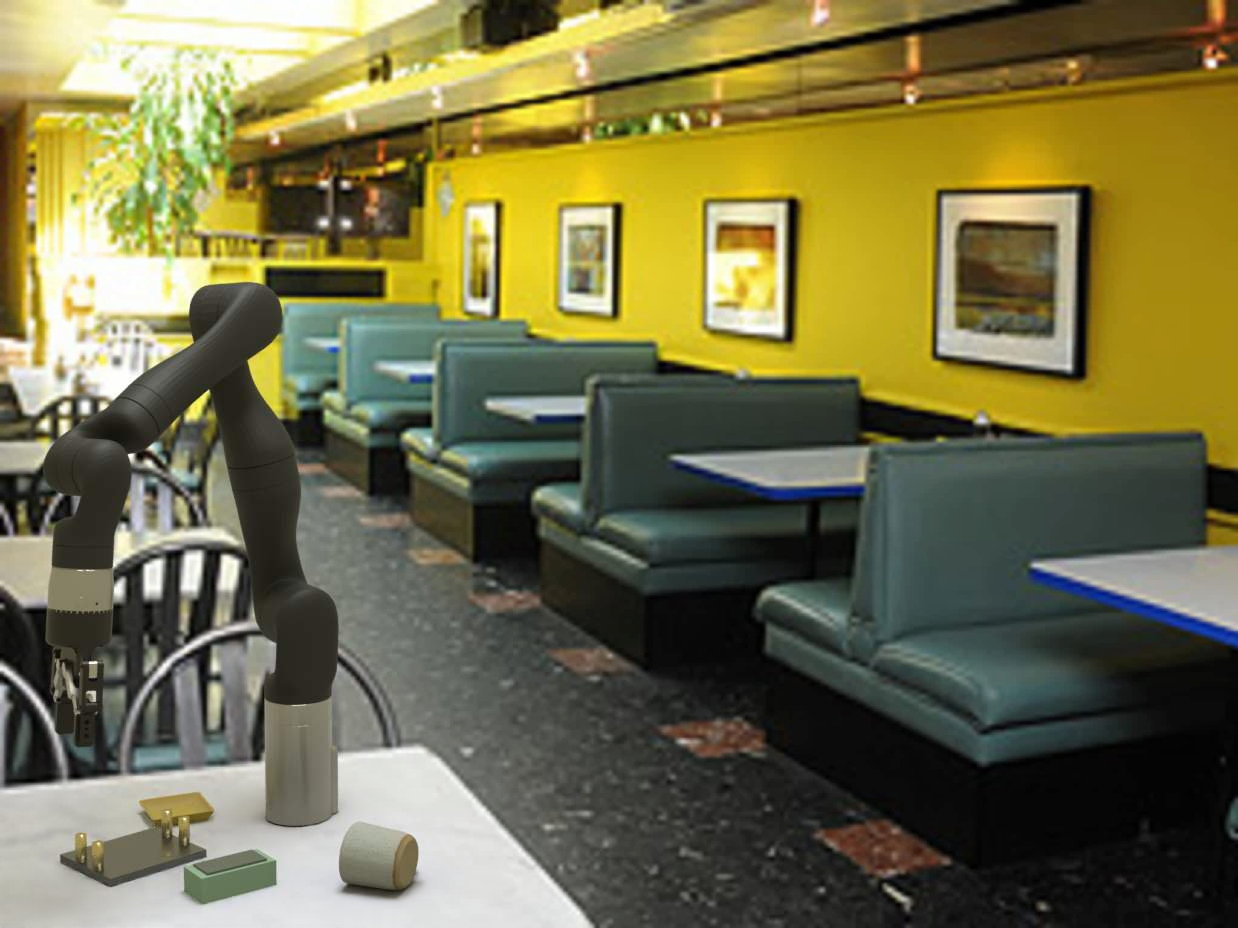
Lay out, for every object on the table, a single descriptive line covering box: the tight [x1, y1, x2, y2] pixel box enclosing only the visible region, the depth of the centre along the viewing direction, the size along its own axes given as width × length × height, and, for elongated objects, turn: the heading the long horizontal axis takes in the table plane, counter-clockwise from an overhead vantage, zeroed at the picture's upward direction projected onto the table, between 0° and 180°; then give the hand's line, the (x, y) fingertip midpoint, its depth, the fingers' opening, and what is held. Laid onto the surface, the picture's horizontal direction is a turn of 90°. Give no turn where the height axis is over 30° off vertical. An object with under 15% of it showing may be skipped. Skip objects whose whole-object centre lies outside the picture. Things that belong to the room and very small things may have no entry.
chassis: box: [59, 809, 208, 887], centre depth 209 cm, size 14×12×4 cm
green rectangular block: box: [183, 848, 278, 905], centre depth 200 cm, size 10×5×4 cm, turn 130°
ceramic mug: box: [338, 821, 419, 891], centre depth 203 cm, size 11×8×8 cm
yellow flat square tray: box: [138, 791, 215, 828], centre depth 226 cm, size 9×9×2 cm
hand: (73, 739), depth 193 cm, fingers open, 8 cm apart
